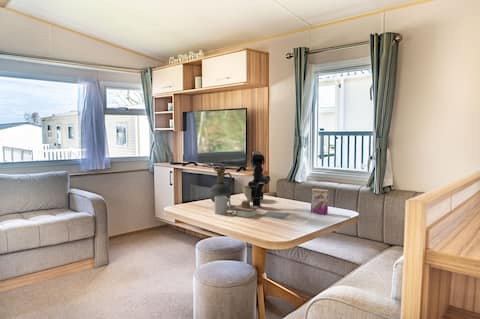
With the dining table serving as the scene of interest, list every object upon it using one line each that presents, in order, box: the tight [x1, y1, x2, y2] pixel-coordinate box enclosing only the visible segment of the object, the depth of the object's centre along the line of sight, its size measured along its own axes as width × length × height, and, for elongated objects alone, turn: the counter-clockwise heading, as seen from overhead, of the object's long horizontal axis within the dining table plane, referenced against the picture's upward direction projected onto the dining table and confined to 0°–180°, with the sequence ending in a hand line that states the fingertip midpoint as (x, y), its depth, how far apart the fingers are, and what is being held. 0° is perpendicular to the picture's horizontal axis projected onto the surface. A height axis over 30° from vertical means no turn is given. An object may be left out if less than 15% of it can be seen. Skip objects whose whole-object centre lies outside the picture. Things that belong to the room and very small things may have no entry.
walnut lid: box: [231, 200, 261, 212], centre depth 229 cm, size 14×14×5 cm
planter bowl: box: [242, 185, 264, 202], centre depth 277 cm, size 16×16×11 cm
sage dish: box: [235, 209, 257, 218], centre depth 230 cm, size 13×13×4 cm
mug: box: [214, 196, 232, 215], centre depth 236 cm, size 12×8×11 cm
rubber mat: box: [260, 210, 291, 220], centre depth 229 cm, size 16×16×1 cm
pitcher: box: [209, 165, 233, 204], centre depth 256 cm, size 11×19×30 cm, turn 136°
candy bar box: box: [310, 188, 329, 215], centre depth 236 cm, size 11×5×16 cm, turn 71°
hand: (257, 194), depth 238 cm, fingers open, 9 cm apart
